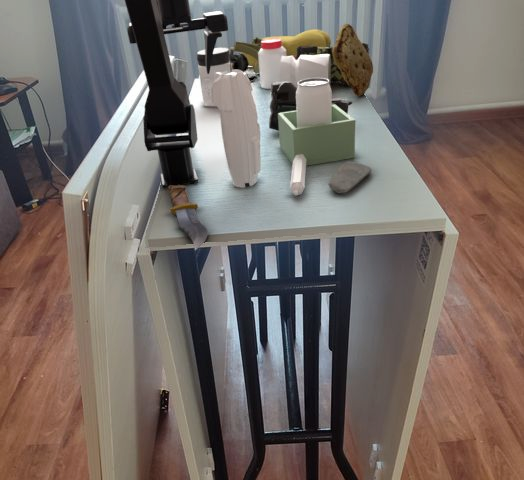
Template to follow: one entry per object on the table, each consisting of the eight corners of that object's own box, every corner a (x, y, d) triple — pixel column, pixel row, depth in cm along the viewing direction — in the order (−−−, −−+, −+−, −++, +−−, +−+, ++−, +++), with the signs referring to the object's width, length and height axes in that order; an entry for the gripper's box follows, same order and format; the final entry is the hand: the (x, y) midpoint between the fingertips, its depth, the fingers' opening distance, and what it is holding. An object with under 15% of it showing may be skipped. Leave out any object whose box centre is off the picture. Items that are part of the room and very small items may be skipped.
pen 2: (347, 102, 129) (347, 100, 128) (270, 107, 133) (269, 104, 132) (347, 99, 130) (347, 96, 128) (270, 103, 133) (269, 101, 132)
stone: (348, 157, 95) (375, 164, 93) (347, 165, 96) (373, 173, 95) (323, 182, 87) (352, 190, 86) (322, 190, 88) (350, 199, 87)
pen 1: (215, 86, 150) (216, 91, 151) (218, 86, 149) (219, 91, 149) (255, 74, 156) (256, 79, 156) (258, 74, 154) (259, 78, 155)
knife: (211, 243, 76) (176, 249, 75) (212, 252, 77) (178, 258, 76) (193, 179, 95) (165, 183, 94) (195, 186, 95) (167, 191, 95)
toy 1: (210, 87, 156) (233, 71, 165) (233, 89, 154) (254, 73, 163) (208, 59, 151) (231, 44, 160) (231, 61, 148) (253, 46, 158)
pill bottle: (256, 85, 151) (252, 41, 144) (280, 80, 153) (277, 36, 146) (267, 90, 145) (264, 44, 138) (293, 85, 147) (290, 39, 140)
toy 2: (237, 79, 172) (319, 69, 155) (230, 47, 166) (314, 33, 150) (260, 67, 180) (340, 57, 164) (254, 36, 175) (336, 22, 158)
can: (329, 155, 100) (329, 85, 92) (295, 155, 101) (292, 87, 94) (333, 143, 105) (333, 76, 97) (300, 144, 106) (298, 78, 99)
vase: (328, 99, 136) (281, 100, 139) (331, 81, 141) (286, 82, 144) (327, 64, 129) (278, 66, 132) (330, 46, 134) (283, 49, 137)
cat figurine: (263, 132, 125) (338, 137, 127) (269, 130, 112) (352, 136, 114) (265, 85, 122) (342, 91, 124) (272, 78, 109) (358, 85, 111)
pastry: (372, 102, 139) (382, 98, 137) (335, 92, 126) (346, 87, 124) (362, 33, 137) (372, 28, 135) (324, 15, 124) (335, 9, 122)
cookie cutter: (229, 45, 157) (230, 38, 156) (264, 43, 162) (265, 36, 161) (258, 77, 149) (259, 70, 148) (294, 74, 154) (295, 67, 153)
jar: (196, 106, 139) (188, 54, 131) (213, 97, 144) (207, 47, 137) (225, 108, 135) (218, 54, 127) (242, 99, 140) (236, 47, 133)
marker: (295, 205, 87) (298, 168, 99) (306, 199, 86) (308, 162, 98) (286, 193, 86) (290, 156, 98) (297, 186, 85) (300, 150, 97)
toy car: (295, 88, 143) (301, 80, 151) (366, 85, 139) (369, 78, 146) (294, 48, 137) (300, 42, 145) (368, 44, 133) (371, 38, 141)
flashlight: (228, 193, 92) (269, 185, 93) (212, 80, 81) (259, 72, 82) (220, 180, 97) (259, 172, 98) (204, 72, 86) (248, 64, 87)
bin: (354, 157, 100) (355, 119, 96) (294, 167, 99) (292, 129, 94) (335, 139, 109) (335, 104, 105) (280, 148, 108) (277, 113, 103)
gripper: (215, -26, 104) (225, 62, 114) (119, -14, 103) (138, 75, 112) (222, -23, 96) (233, 73, 105) (118, -10, 94) (139, 86, 104)
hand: (185, 76), depth 107 cm, fingers open, 9 cm apart
